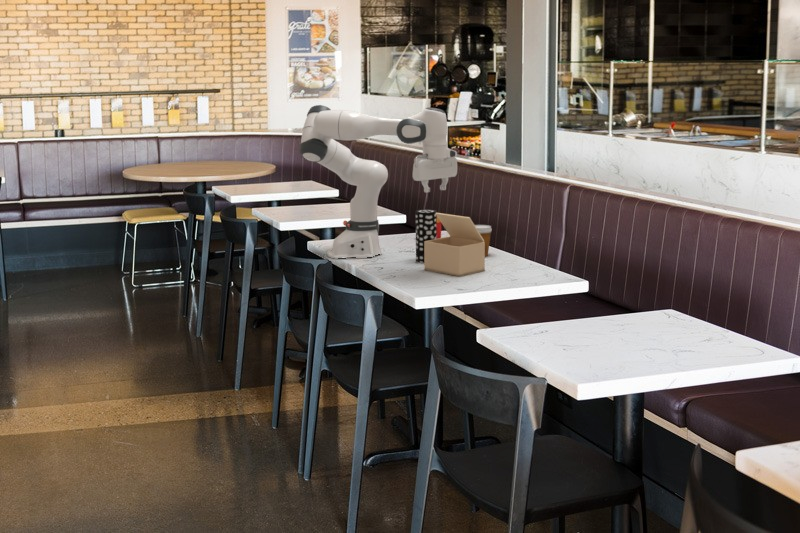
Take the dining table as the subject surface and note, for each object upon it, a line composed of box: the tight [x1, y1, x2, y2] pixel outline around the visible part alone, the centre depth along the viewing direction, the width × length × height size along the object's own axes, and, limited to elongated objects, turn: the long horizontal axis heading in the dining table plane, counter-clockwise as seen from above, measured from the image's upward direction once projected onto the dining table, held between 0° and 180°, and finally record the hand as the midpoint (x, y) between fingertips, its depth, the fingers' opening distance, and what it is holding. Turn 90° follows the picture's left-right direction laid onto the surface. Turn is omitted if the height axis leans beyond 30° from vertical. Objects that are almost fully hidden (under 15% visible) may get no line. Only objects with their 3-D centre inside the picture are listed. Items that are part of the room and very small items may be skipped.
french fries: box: [437, 217, 442, 239], centre depth 423 cm, size 9×4×13 cm, turn 27°
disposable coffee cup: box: [474, 224, 493, 258], centre depth 394 cm, size 10×10×12 cm
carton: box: [423, 236, 486, 278], centre depth 366 cm, size 14×18×11 cm
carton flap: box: [436, 212, 484, 242], centre depth 366 cm, size 13×17×1 cm
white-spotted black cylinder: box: [415, 209, 438, 264], centre depth 383 cm, size 8×8×20 cm
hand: (435, 191), depth 354 cm, fingers open, 7 cm apart
